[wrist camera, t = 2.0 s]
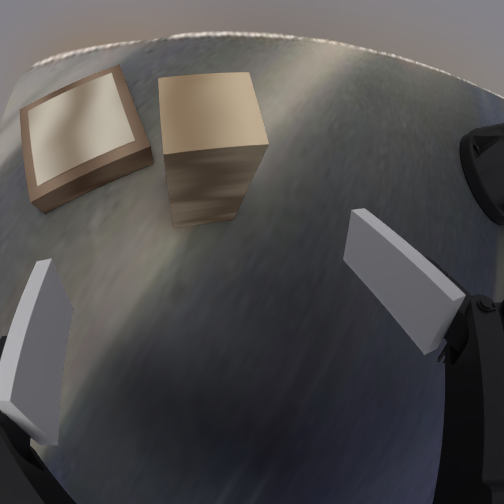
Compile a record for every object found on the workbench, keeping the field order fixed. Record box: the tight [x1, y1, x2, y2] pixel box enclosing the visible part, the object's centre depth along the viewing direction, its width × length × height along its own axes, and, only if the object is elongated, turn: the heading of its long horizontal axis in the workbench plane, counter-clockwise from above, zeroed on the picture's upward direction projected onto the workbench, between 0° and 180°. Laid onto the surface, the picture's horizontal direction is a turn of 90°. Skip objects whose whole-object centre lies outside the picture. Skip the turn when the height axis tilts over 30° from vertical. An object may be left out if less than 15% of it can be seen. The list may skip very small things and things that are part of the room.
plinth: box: [20, 64, 154, 214], centre depth 23 cm, size 11×11×3 cm
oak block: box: [158, 72, 269, 228], centre depth 20 cm, size 5×5×12 cm
